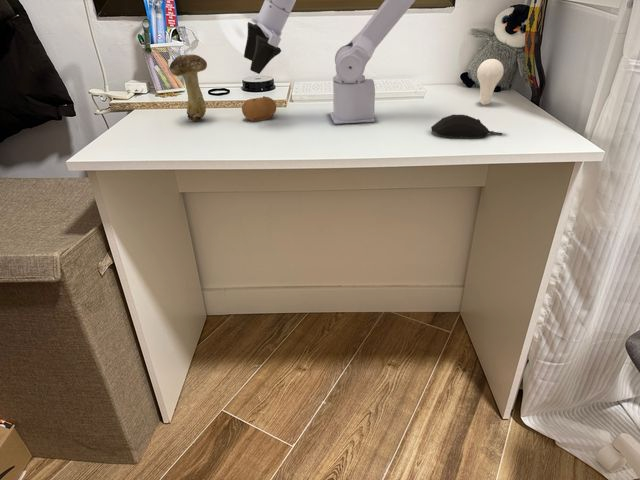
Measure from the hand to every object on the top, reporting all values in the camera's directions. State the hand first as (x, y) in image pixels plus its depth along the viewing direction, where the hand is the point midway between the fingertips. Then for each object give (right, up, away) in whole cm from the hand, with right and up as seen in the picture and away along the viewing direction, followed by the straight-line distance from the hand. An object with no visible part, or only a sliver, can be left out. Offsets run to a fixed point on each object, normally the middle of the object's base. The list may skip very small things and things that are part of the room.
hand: (251, 65), depth 98 cm
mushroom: (-14, -11, +8) cm, 19 cm away
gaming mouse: (+47, -17, -4) cm, 50 cm away
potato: (+1, -10, +8) cm, 13 cm away
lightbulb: (+57, -5, +14) cm, 59 cm away
